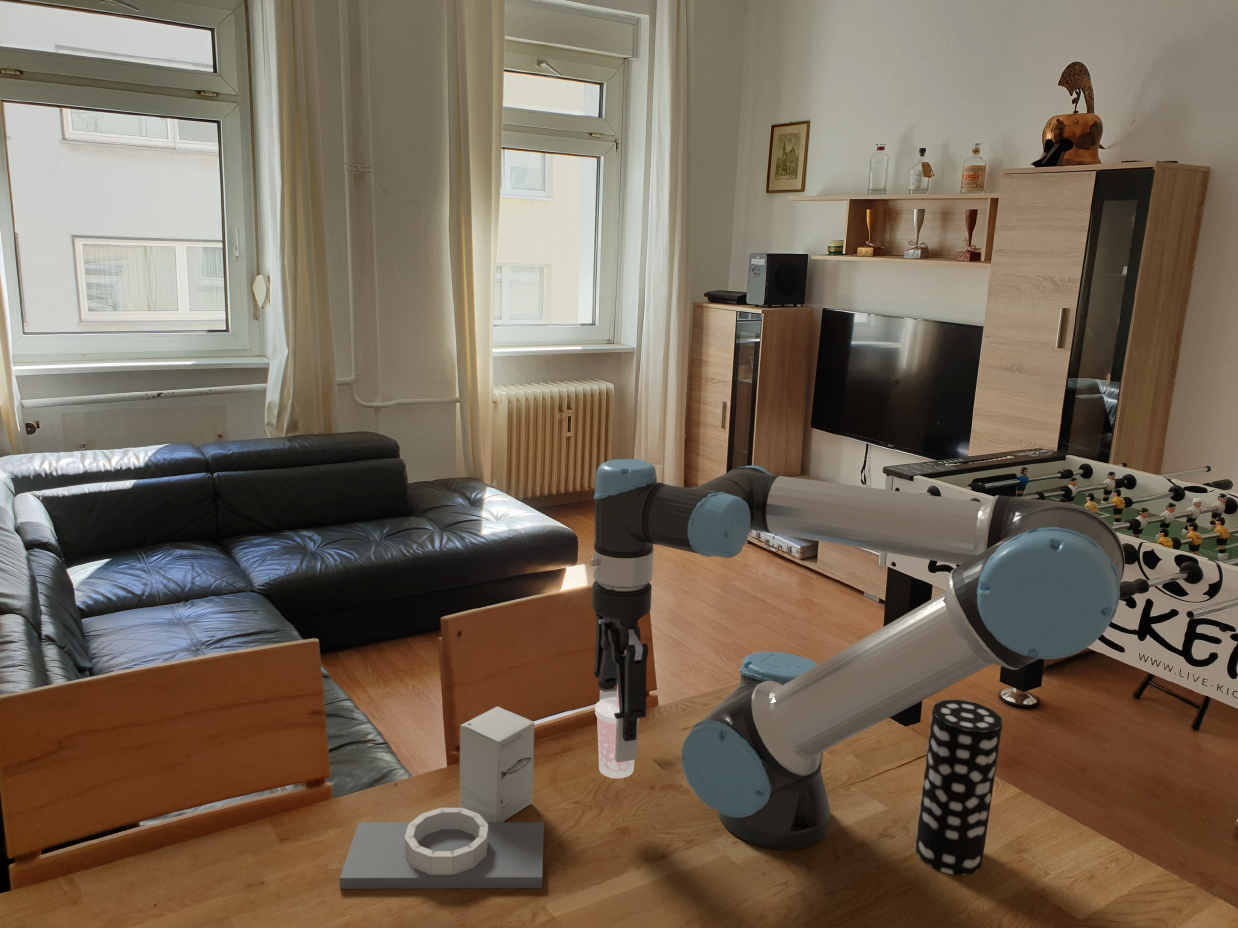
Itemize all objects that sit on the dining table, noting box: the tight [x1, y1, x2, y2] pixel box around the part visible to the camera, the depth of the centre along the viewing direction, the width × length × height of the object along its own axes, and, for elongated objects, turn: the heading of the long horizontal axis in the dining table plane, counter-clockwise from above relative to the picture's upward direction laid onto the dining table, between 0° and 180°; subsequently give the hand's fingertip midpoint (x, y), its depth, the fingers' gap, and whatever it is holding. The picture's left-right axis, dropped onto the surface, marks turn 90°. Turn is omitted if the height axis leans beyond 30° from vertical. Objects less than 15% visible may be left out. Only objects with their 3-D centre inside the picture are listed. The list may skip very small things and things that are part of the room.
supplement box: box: [459, 706, 535, 822], centre depth 129 cm, size 7×7×13 cm
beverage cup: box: [594, 683, 640, 780], centre depth 124 cm, size 6×6×14 cm
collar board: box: [339, 807, 545, 890], centre depth 118 cm, size 24×11×4 cm, turn 93°
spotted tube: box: [914, 699, 1004, 876], centre depth 121 cm, size 8×8×20 cm
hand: (617, 746), depth 125 cm, fingers closed on beverage cup, 6 cm apart
